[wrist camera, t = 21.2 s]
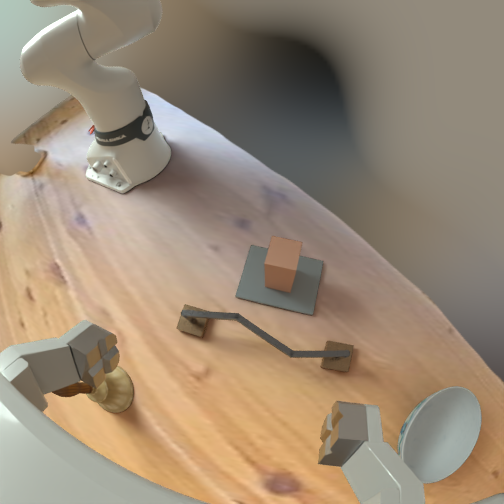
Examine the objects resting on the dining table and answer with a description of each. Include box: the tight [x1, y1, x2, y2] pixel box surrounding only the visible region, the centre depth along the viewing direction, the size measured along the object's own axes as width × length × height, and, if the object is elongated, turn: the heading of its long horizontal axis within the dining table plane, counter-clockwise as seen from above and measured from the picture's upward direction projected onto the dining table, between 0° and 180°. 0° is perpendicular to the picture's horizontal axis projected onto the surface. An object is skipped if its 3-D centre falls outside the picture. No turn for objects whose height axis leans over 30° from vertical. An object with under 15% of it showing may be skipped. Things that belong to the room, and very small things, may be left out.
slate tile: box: [236, 245, 323, 315], centre depth 43 cm, size 12×9×1 cm
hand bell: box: [52, 366, 134, 413], centre depth 29 cm, size 8×8×16 cm
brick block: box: [264, 236, 302, 293], centre depth 39 cm, size 4×4×9 cm
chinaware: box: [398, 386, 482, 483], centre depth 27 cm, size 15×15×8 cm
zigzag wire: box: [177, 304, 353, 372], centre depth 36 cm, size 26×4×6 cm, turn 74°
